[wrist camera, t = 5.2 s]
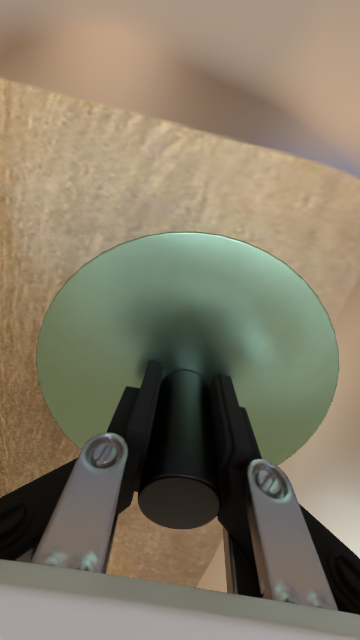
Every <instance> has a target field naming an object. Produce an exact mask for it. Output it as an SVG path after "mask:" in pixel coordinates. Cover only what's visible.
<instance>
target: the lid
mask: <svg viewBox="0 0 360 640" xmlns="http://www.w3.org/2000/svg"><path fill="white" fill-rule="evenodd" d="M149 361H150V362H156V363H160V367H164V369H163V374H162V379H161V385H160V390H159V395H158V400H157V405H156V410H155V415H154V420H153V425H152V431H151V436H150V441H149V446H148V451H147V456H146V461H145V463H144V467H143V472H142V477H141V482H140V487H139V492H138V504H139V507H140V509H141V511H142V513H143V514H144V515H145V516H146V517H147V518H148V519H149V520H151V521H153V522H154V523H156V524H158V525H161V526H164V527H167V528H172V529H193V528H197V527H201V526H203V525H206V524H207V523H209V522H211V521H212V520H213V519H214V518H215V517H216V516H217V515H218V513H219V511H220V508H221V503H222V500H221V492H220V484H219V476H218V467H217V459H216V451H215V443H214V434H213V426H212V418H211V410H210V401H209V391H210V388H211V384H212V381H213V378H214V376H215V377H217V376H218V375H219V374H220V375H226V376H230V377H231V379H232V383H233V386H234V389H235V393H236V396H237V400H238V403H239V406H240V407H244V408H245V409H246V411H247V414H248V417H249V420H250V423H251V426H252V429H253V432H254V435H255V438H256V441H257V444H258V448H259V451H260V454H261V457H262V459H264V460H267V461H270V462H272V463H273V464H275V465H279V464H281V463H282V462H284V461H285V460H286V459H288V458H289V457H291V456H292V455H293V454H295V453H296V452H297V451H298V450H299V449H300V448H301V447H302V446H303V445H304V444H305V443H306V442H307V441H308V440H309V439H310V437H311V436H312V435H313V434H314V433H315V432H316V430H317V429H318V427H319V426H320V424H321V423H322V421H323V419H324V418H325V416H326V414H327V412H328V409H329V407H330V405H331V403H332V401H333V397H334V393H335V390H336V387H337V380H338V373H339V353H338V346H337V341H336V336H335V331H334V329H333V326H332V323H331V321H330V318H329V316H328V313H327V311H326V310H325V308H324V306H323V305H322V303H321V301H320V300H319V298H318V296H317V295H316V293H315V292H314V291H313V290H312V289H311V287H310V286H309V285H308V284H307V283H306V282H305V280H304V279H303V278H302V277H301V276H299V275H298V274H297V273H296V272H295V271H294V270H293V269H291V268H290V267H289V266H288V265H287V264H286V263H284V262H282V261H281V260H279V259H278V258H276V257H274V256H273V255H271V254H270V253H268V252H267V251H264V250H262V249H260V248H258V247H255V246H253V245H251V244H249V243H246V242H244V241H240V240H237V239H233V238H230V237H226V236H222V235H217V234H210V233H202V232H167V233H160V234H154V235H147V236H143V237H140V238H137V239H134V240H130V241H127V242H124V243H121V244H119V245H117V246H115V247H113V248H111V249H109V250H107V251H104V252H102V253H101V254H99V255H98V256H96V257H95V258H93V259H92V260H90V261H89V262H87V263H86V264H84V265H83V266H82V267H81V268H80V269H79V270H78V271H77V272H76V273H75V274H73V275H72V276H71V277H70V278H69V279H68V280H67V282H66V283H65V284H64V285H63V287H62V288H61V289H60V290H59V292H58V293H57V294H56V296H55V297H54V299H53V301H52V303H51V305H50V306H49V308H48V310H47V312H46V315H45V317H44V320H43V323H42V326H41V328H40V333H39V338H38V343H37V360H36V364H37V372H38V380H39V384H40V387H41V391H42V395H43V397H44V400H45V402H46V404H47V407H48V409H49V411H50V413H51V414H52V416H53V418H54V419H55V421H56V423H57V424H58V425H59V427H60V428H61V429H62V431H63V432H64V433H65V434H66V436H67V437H68V438H69V439H70V440H71V441H72V442H73V443H74V444H75V445H76V446H77V447H78V448H79V449H80V450H82V448H83V446H84V445H85V443H86V442H87V441H88V440H89V439H90V438H92V437H94V436H95V435H97V434H101V433H106V432H107V429H108V427H109V425H110V422H111V420H112V418H113V415H114V413H115V411H116V408H117V406H118V404H119V401H120V399H121V397H122V394H123V392H124V390H125V387H126V386H130V387H135V388H140V387H141V384H142V381H143V378H144V375H145V372H146V369H147V366H148V363H149Z"/></svg>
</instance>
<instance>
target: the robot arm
mask: <svg viewBox="0 0 360 640" xmlns="http://www.w3.org/2000/svg"><path fill="white" fill-rule="evenodd" d="M163 369H164V367H160V363H156V362H150V361H149V363H148V366H147V369H146V372H145V375H144V378H143V381H142V384H141V387H140V388H135V387H130V386H126V387H125V390H124V392H123V394H122V397H121V399H120V401H119V404H118V406H117V408H116V411H115V413H114V415H113V418H112V420H111V422H110V425H109V427H108V429H107V432H106V433H101V434H97V435H95V436H94V437H92V438H90V439H89V440H88V441H87V442H86V443H85V445H84V446H83V448H82V450H81V452H80V454H79V457H78V458H76V459H74V460H73V461H71V462H69V463H67V464H65V465H63V466H61V467H59V468H57V469H55V470H53V471H51V472H49V473H47V474H45V475H44V476H42V477H40V478H38V479H36V480H34V481H32V482H30V483H28V484H26V485H24V486H22V487H20V488H18V489H17V490H15V491H13V492H11V493H9V494H7V495H5V496H3V497H1V498H0V640H360V559H359V558H358V557H357V555H355V554H354V553H353V552H352V551H351V550H350V549H349V548H348V547H346V546H345V545H344V544H343V543H342V542H341V541H340V540H339V539H338V538H336V537H335V536H334V535H333V534H332V533H331V532H330V531H329V530H328V529H326V527H324V526H323V525H322V524H321V523H320V522H319V521H318V520H317V519H316V518H314V517H313V516H312V515H311V514H310V513H309V512H308V511H307V510H305V509H304V508H303V507H302V506H301V505H300V504H299V503H298V501H297V498H296V495H295V493H294V490H293V487H292V484H291V483H290V481H289V479H288V477H287V476H286V474H285V473H284V472H283V471H282V470H281V469H280V468H279V467H278V466H277V465H275V464H273V463H272V462H270V461H267V460H264V459H262V457H261V454H260V451H259V448H258V444H257V441H256V438H255V435H254V432H253V429H252V426H251V423H250V420H249V417H248V414H247V411H246V409H245V408H244V407H240V406H239V403H238V400H237V396H236V393H235V389H234V386H233V383H232V379H231V377H230V376H226V375H220V374H219V375H218V376H217V377H215V376H214V378H213V381H212V384H211V388H210V391H209V401H210V410H211V418H212V426H213V434H214V443H215V451H216V459H217V467H218V476H219V484H220V492H221V500H222V503H221V508H220V511H219V513H218V515H217V516H218V520H219V522H220V523H221V524H222V525H223V540H224V552H225V566H226V580H227V591H228V592H227V593H225V592H218V591H212V590H205V589H200V588H193V587H187V586H181V585H174V584H168V583H162V582H155V581H149V580H142V579H136V578H129V577H123V576H116V575H109V574H106V572H107V568H108V563H109V558H110V554H111V549H112V544H113V540H114V535H115V530H116V526H117V521H118V516H119V514H120V513H121V512H122V511H124V510H125V509H126V508H127V507H129V506H130V504H131V502H132V498H133V494H134V491H136V492H139V487H140V482H141V477H142V472H143V467H144V463H145V461H146V456H147V451H148V446H149V441H150V436H151V431H152V425H153V420H154V415H155V410H156V405H157V400H158V395H159V390H160V385H161V379H162V374H163Z"/></svg>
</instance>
